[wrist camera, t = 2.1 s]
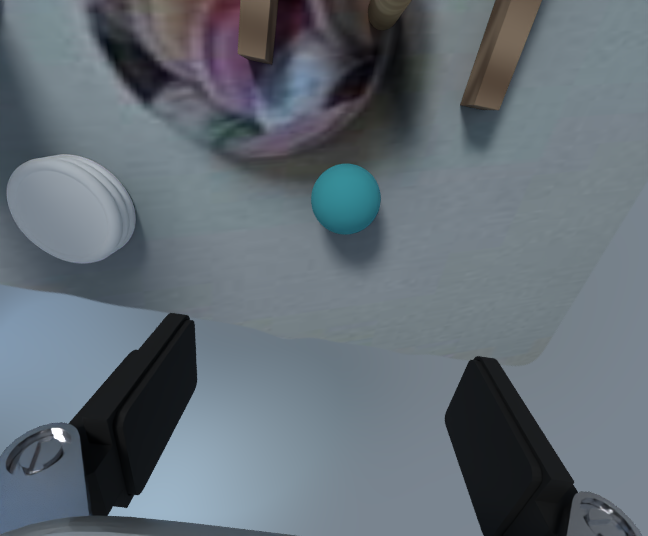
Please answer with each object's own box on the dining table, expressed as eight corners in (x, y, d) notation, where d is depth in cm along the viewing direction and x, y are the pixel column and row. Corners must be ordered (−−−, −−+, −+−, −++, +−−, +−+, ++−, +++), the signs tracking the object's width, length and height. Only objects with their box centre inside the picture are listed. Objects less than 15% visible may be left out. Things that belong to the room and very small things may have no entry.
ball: (335, 232, 32) (336, 257, 27) (300, 183, 30) (293, 199, 25) (387, 200, 31) (399, 219, 25) (354, 145, 29) (359, 153, 23)
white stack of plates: (156, 204, 32) (137, 215, 29) (110, 268, 35) (88, 284, 32) (60, 129, 29) (27, 132, 26) (20, 206, 32) (-14, 217, 29)
